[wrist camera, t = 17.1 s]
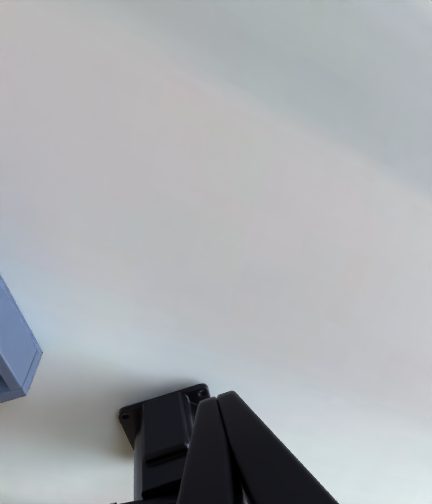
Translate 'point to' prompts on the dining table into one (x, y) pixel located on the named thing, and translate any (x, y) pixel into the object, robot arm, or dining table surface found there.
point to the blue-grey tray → (15, 349)
